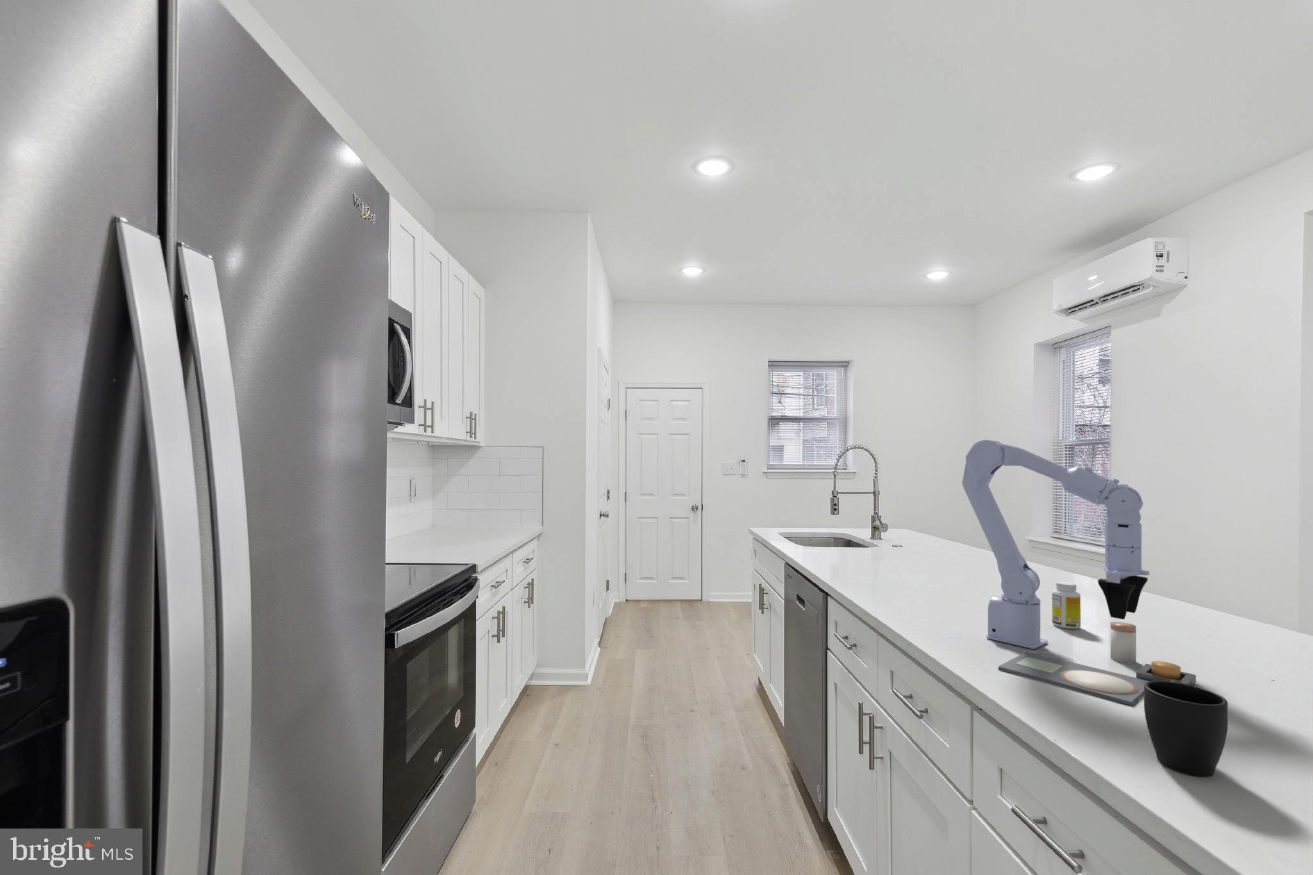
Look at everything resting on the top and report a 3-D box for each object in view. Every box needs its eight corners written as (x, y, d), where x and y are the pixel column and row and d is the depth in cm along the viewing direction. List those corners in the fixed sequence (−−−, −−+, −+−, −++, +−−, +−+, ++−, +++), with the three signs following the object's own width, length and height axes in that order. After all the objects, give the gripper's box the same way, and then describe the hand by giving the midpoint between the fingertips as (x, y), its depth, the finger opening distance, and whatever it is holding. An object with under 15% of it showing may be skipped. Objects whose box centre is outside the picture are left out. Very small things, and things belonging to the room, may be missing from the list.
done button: (1148, 674, 107) (1148, 664, 107) (1154, 669, 110) (1154, 659, 110) (1178, 681, 104) (1177, 670, 104) (1183, 675, 107) (1182, 665, 107)
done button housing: (1136, 680, 108) (1136, 671, 108) (1146, 671, 112) (1146, 663, 112) (1187, 692, 102) (1187, 684, 102) (1195, 683, 107) (1195, 674, 107)
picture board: (998, 669, 112) (998, 665, 112) (1026, 654, 121) (1026, 650, 121) (1131, 705, 96) (1131, 700, 96) (1153, 685, 105) (1153, 680, 105)
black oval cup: (1218, 752, 82) (1218, 681, 82) (1233, 791, 72) (1233, 711, 72) (1141, 734, 87) (1141, 667, 87) (1145, 768, 77) (1145, 693, 77)
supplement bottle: (1083, 627, 141) (1083, 583, 141) (1076, 631, 137) (1076, 586, 138) (1056, 621, 145) (1056, 579, 145) (1048, 625, 142) (1048, 582, 142)
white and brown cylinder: (1107, 659, 119) (1107, 623, 119) (1113, 655, 121) (1113, 620, 121) (1133, 665, 115) (1133, 628, 116) (1138, 660, 118) (1138, 625, 118)
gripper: (1138, 552, 111) (1138, 625, 111) (1157, 545, 120) (1157, 613, 120) (1093, 547, 117) (1093, 617, 116) (1114, 541, 126) (1114, 605, 125)
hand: (1123, 614), depth 119 cm, fingers open, 7 cm apart
